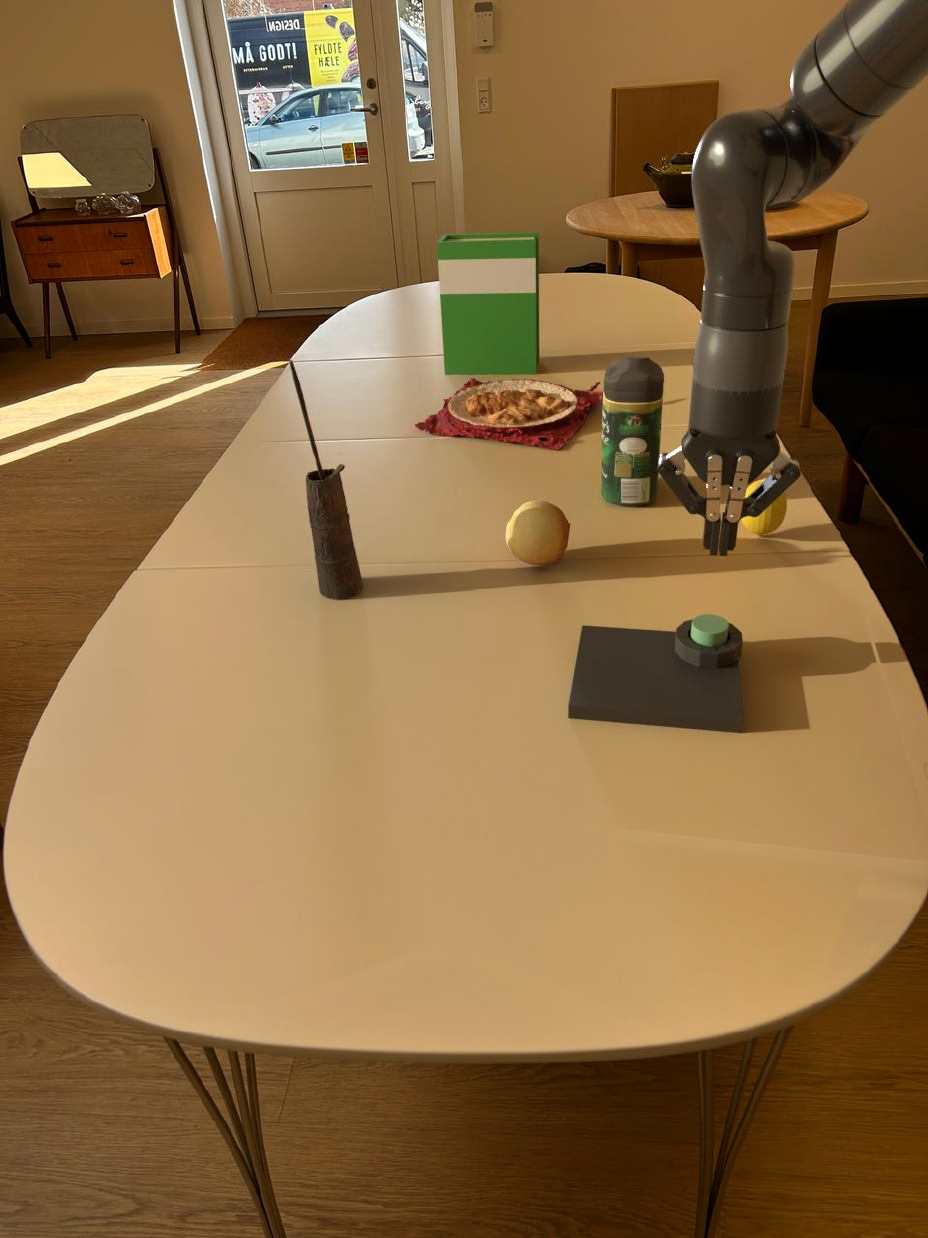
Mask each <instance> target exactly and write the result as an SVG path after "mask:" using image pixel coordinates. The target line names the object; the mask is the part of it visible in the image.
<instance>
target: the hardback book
mask: <svg viewBox="0 0 928 1238" xmlns="http://www.w3.org/2000/svg"><path fill="white" fill-rule="evenodd" d="M436 253H437V267H438V269H437V270H438V285H439V301H440V316H441V332H442V349H443V352H442V353H443V365H444V367H443V369H444V375H537V374H538V367H537V366H538V364H540V232H539V231H531V232H529V231H528V232H527V231H526V232H489V233H452V234H451V233H446V234H445V233H444V234H442V236H440V238H439V239H438V240H437V242H436Z"/></svg>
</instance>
